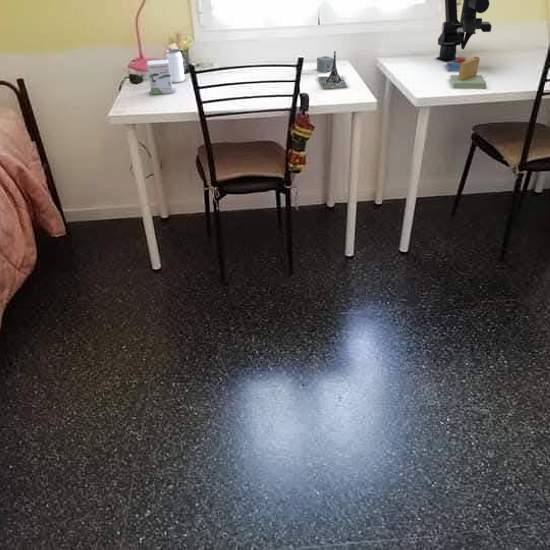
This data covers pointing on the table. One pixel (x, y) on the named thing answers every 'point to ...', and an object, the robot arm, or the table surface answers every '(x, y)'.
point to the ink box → (159, 76)
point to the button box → (453, 66)
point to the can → (175, 65)
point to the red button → (460, 59)
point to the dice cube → (325, 63)
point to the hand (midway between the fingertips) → (462, 48)
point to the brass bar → (468, 68)
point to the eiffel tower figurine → (332, 78)
